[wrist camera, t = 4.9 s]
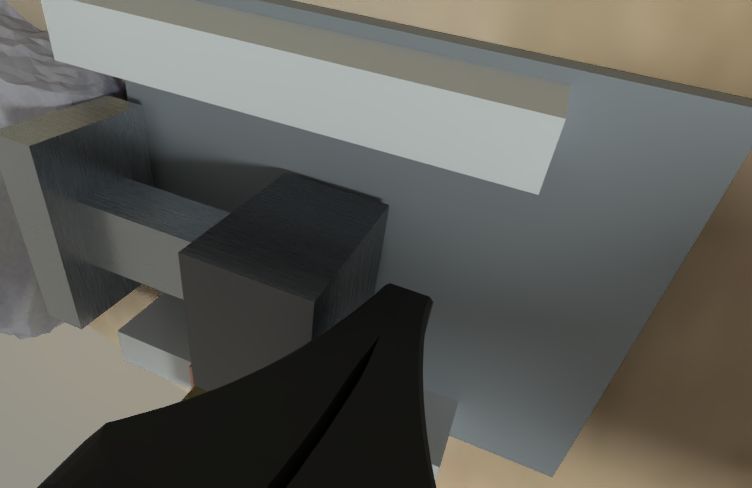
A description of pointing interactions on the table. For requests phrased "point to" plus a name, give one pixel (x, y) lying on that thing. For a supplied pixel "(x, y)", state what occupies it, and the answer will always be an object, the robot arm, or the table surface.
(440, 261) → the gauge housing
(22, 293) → the stone block
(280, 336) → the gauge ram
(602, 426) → the table surface
